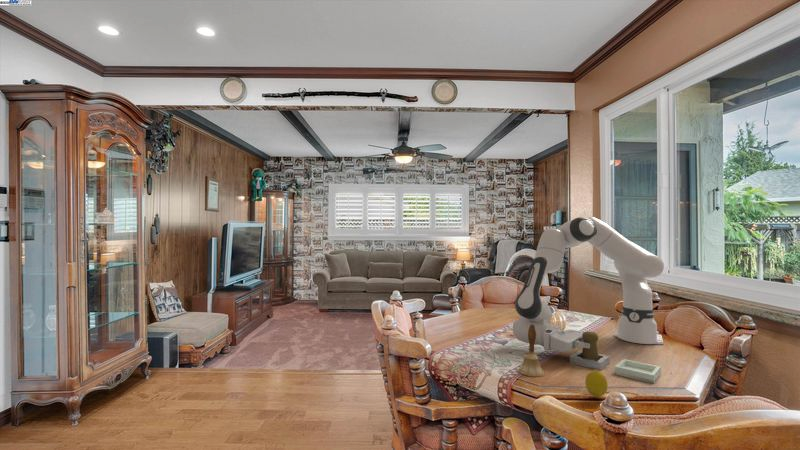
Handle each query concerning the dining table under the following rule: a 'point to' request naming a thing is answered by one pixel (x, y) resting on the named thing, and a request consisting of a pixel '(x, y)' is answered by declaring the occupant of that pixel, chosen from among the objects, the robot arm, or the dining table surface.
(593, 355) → the cork
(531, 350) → the hand bell
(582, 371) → the dining table surface
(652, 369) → the sage tray
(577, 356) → the grey square frame
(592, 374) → the lemon
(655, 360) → the dining table surface
